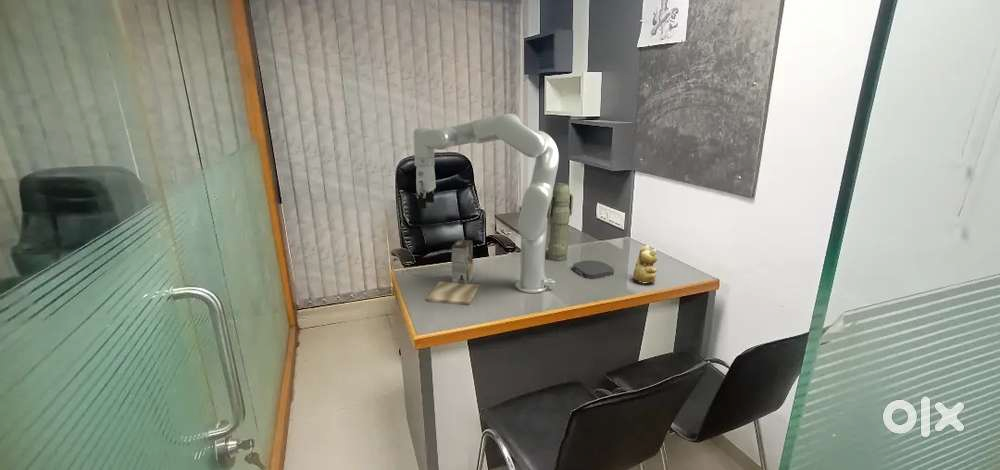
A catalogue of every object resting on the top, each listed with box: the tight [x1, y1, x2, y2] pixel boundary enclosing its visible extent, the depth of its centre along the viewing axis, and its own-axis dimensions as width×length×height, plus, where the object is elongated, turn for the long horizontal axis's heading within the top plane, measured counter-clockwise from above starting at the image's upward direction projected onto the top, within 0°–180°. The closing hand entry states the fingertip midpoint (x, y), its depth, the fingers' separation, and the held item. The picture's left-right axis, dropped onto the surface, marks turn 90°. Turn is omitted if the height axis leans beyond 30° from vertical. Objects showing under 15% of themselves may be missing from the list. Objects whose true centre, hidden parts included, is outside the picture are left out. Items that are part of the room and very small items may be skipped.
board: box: [426, 281, 480, 306], centre depth 173 cm, size 16×16×1 cm
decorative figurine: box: [633, 244, 658, 283], centre depth 185 cm, size 10×8×15 cm
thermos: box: [547, 182, 574, 262], centre depth 208 cm, size 9×12×35 cm
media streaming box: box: [572, 259, 615, 280], centre depth 197 cm, size 15×15×3 cm
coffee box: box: [450, 239, 474, 284], centre depth 183 cm, size 9×6×16 cm
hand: (426, 205), depth 180 cm, fingers open, 9 cm apart
